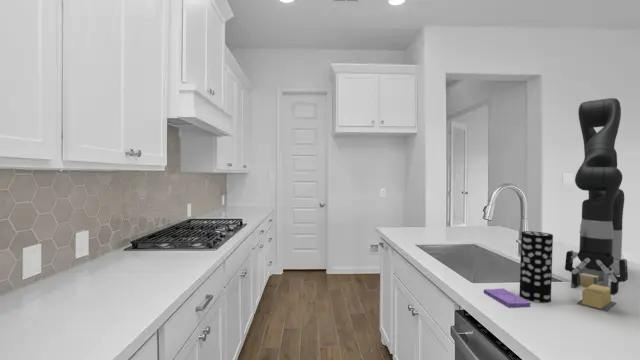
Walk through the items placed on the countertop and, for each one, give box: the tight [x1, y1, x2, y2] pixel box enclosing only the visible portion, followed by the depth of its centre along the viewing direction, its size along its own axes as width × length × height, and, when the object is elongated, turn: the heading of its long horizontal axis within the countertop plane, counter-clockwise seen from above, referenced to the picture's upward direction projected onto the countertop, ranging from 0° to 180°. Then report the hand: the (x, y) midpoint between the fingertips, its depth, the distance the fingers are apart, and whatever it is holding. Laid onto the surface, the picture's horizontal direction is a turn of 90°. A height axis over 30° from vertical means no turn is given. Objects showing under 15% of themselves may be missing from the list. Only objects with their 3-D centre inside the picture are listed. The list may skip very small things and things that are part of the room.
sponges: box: [483, 288, 532, 309], centre depth 106 cm, size 7×13×2 cm, turn 7°
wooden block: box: [581, 284, 612, 308], centre depth 103 cm, size 10×4×4 cm, turn 128°
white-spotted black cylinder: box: [518, 230, 554, 303], centre depth 107 cm, size 8×8×20 cm
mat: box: [576, 299, 617, 312], centre depth 103 cm, size 10×7×1 cm
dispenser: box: [570, 267, 610, 289], centre depth 119 cm, size 14×7×7 cm, turn 127°
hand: (594, 290), depth 101 cm, fingers open, 8 cm apart
